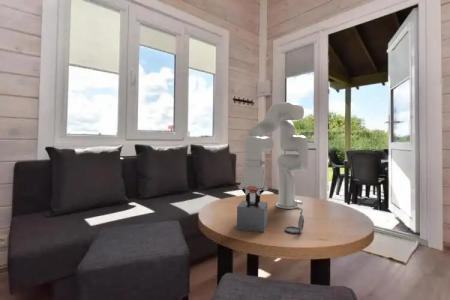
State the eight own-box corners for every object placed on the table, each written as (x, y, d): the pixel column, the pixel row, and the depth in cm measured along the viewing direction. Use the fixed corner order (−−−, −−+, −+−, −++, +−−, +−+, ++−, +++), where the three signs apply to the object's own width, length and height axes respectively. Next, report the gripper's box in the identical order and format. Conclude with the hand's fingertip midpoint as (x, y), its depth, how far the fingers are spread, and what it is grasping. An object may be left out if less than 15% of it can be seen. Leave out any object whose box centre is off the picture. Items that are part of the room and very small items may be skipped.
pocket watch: (283, 228, 113) (283, 206, 112) (301, 228, 114) (301, 206, 113) (289, 235, 105) (289, 211, 104) (308, 235, 105) (309, 211, 105)
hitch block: (267, 223, 119) (267, 202, 119) (264, 232, 108) (264, 208, 107) (242, 221, 123) (242, 200, 122) (236, 229, 111) (237, 206, 111)
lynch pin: (259, 209, 117) (259, 185, 116) (258, 213, 111) (258, 187, 111) (247, 209, 118) (248, 184, 118) (245, 212, 113) (245, 186, 112)
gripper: (272, 163, 115) (271, 202, 116) (237, 162, 120) (237, 200, 121) (270, 164, 108) (270, 206, 109) (233, 163, 113) (233, 204, 113)
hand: (252, 203), depth 115 cm, fingers closed on lynch pin, 3 cm apart
